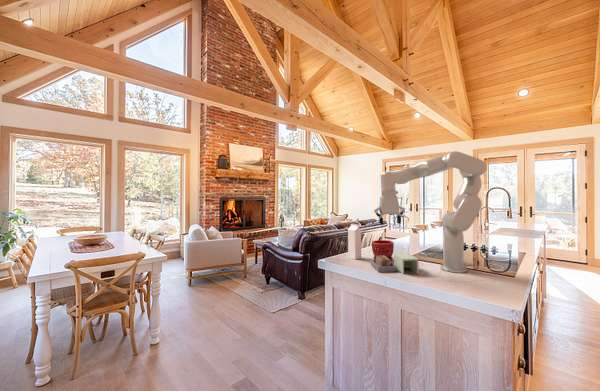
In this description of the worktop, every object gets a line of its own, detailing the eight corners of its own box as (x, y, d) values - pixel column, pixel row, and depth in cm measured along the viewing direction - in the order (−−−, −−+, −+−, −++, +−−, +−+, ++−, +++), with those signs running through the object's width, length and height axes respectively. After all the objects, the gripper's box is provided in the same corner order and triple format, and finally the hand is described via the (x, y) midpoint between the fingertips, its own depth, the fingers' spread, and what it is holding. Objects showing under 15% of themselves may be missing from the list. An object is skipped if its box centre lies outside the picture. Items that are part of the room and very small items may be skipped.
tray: (387, 264, 154) (387, 259, 154) (396, 271, 139) (396, 266, 139) (370, 264, 154) (370, 259, 154) (378, 272, 139) (378, 267, 139)
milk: (355, 259, 165) (354, 225, 165) (348, 257, 170) (347, 224, 170) (361, 258, 169) (361, 224, 169) (354, 256, 174) (353, 223, 173)
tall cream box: (408, 267, 148) (408, 253, 148) (418, 273, 136) (418, 258, 136) (394, 267, 148) (393, 253, 148) (402, 273, 136) (402, 259, 136)
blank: (384, 263, 152) (384, 255, 152) (390, 269, 142) (390, 259, 142) (375, 264, 152) (375, 255, 152) (381, 269, 142) (381, 260, 142)
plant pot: (395, 259, 165) (395, 240, 165) (390, 264, 154) (390, 244, 154) (375, 256, 172) (375, 238, 172) (369, 261, 161) (368, 242, 160)
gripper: (401, 192, 150) (402, 222, 150) (371, 194, 150) (373, 224, 150) (406, 192, 143) (408, 223, 143) (375, 194, 143) (377, 225, 143)
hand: (390, 224), depth 147 cm, fingers open, 9 cm apart
